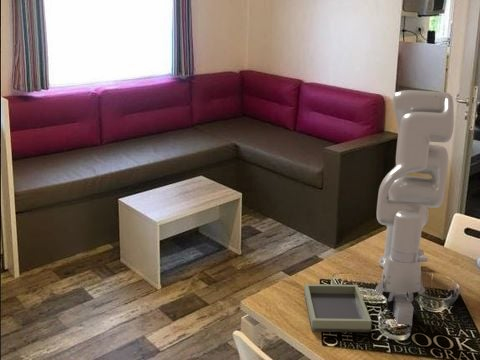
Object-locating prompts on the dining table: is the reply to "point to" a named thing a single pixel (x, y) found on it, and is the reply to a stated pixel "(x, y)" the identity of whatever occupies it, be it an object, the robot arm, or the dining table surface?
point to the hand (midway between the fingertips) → (397, 310)
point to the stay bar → (402, 308)
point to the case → (336, 308)
